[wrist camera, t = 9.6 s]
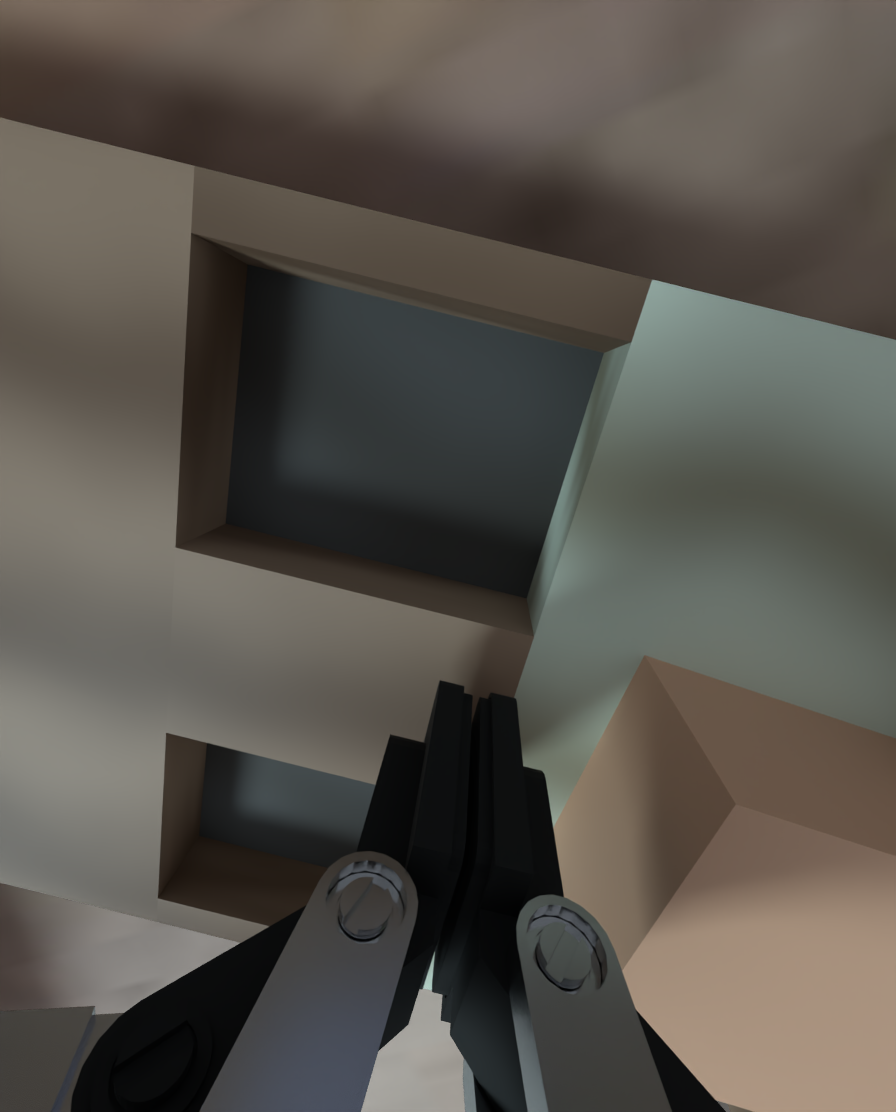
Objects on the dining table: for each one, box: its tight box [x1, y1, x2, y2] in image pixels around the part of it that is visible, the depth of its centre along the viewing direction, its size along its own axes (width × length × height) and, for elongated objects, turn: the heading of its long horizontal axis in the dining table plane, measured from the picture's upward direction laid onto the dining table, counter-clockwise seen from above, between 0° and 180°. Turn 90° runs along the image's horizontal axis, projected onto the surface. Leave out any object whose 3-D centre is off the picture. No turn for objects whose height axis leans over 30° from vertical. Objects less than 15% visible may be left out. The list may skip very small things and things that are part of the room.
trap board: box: [0, 118, 896, 1112], centre depth 11 cm, size 19×28×6 cm
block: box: [553, 655, 896, 1112], centre depth 9 cm, size 6×6×4 cm
